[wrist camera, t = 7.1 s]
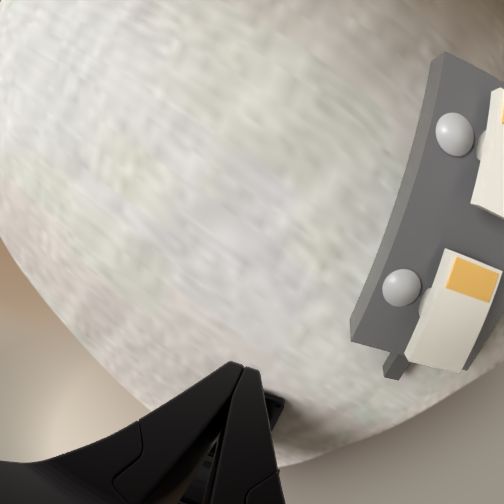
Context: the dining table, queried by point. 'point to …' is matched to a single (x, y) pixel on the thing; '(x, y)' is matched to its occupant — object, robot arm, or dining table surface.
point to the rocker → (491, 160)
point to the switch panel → (433, 215)
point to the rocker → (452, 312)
